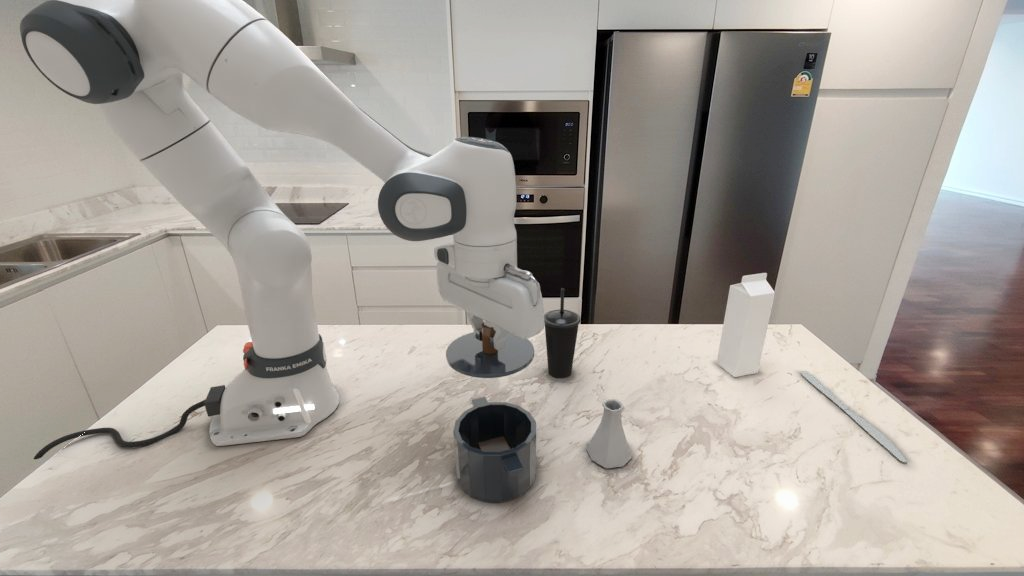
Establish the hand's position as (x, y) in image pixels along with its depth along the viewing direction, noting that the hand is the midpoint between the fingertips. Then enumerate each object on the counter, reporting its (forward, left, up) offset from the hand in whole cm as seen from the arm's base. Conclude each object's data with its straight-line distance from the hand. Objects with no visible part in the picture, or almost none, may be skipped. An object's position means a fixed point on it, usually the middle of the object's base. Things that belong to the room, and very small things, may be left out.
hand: (489, 342), depth 73 cm
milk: (+58, +6, -21) cm, 62 cm away
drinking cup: (+21, +18, -21) cm, 35 cm away
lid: (0, 0, -2) cm, 2 cm away
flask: (+18, -7, -21) cm, 29 cm away
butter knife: (+66, -14, -21) cm, 71 cm away
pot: (-1, -4, -21) cm, 22 cm away
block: (-1, -4, -21) cm, 21 cm away
